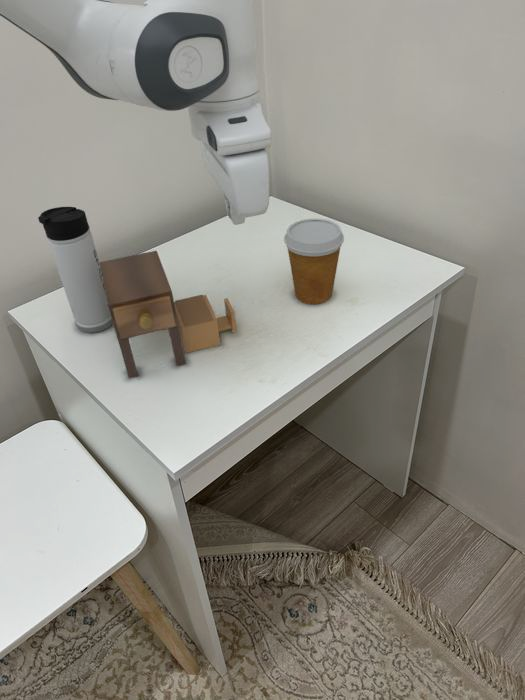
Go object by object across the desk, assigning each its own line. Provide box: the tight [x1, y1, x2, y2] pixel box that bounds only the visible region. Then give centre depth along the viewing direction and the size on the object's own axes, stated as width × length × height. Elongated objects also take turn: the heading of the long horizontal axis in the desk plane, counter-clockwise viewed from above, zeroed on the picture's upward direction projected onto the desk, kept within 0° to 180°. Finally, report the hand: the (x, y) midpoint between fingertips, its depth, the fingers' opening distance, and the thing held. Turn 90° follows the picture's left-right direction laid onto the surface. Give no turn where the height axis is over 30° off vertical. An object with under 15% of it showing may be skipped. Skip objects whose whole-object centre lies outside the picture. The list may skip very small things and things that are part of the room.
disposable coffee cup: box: [283, 218, 345, 305], centre depth 90 cm, size 10×10×12 cm
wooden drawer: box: [174, 294, 237, 354], centre depth 85 cm, size 9×7×5 cm
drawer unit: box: [99, 250, 187, 379], centre depth 80 cm, size 8×14×13 cm, turn 18°
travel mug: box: [37, 206, 113, 334], centre depth 84 cm, size 6×7×20 cm
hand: (236, 220), depth 76 cm, fingers closed
